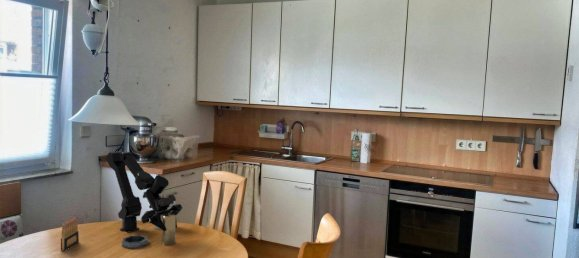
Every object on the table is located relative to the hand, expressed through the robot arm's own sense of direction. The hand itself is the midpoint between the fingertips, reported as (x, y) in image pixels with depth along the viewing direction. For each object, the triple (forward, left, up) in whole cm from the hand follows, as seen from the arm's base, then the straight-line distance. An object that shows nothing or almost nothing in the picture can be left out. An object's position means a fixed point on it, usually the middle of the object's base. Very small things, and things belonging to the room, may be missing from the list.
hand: (171, 229), depth 187 cm
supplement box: (-19, +15, -7) cm, 26 cm away
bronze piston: (-1, 0, -7) cm, 7 cm away
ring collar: (-12, -9, -7) cm, 17 cm away
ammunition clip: (-32, -26, -7) cm, 42 cm away
